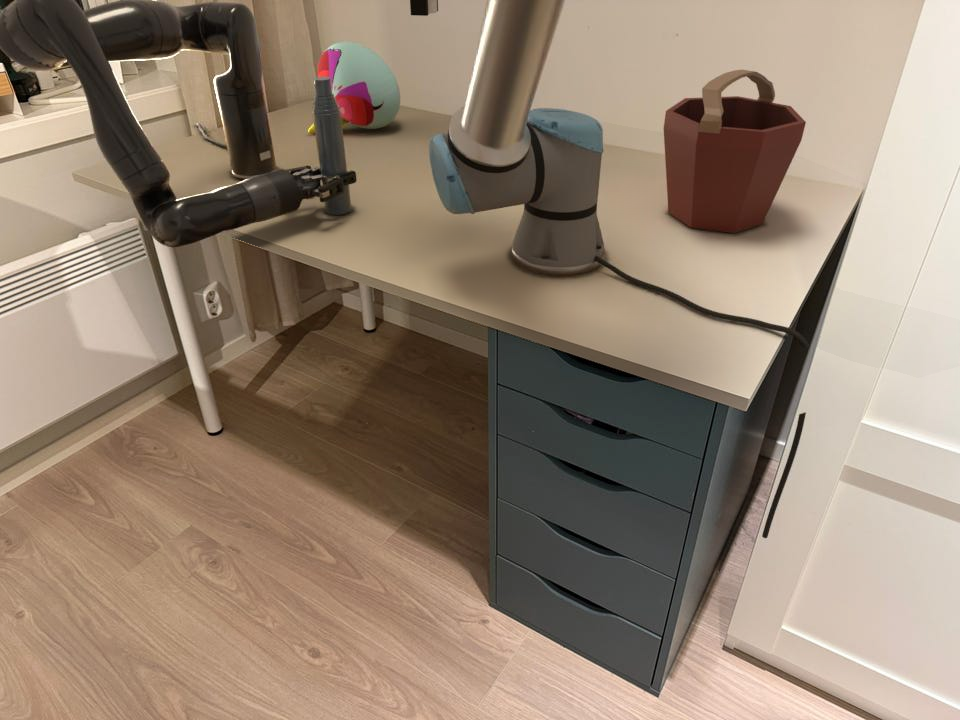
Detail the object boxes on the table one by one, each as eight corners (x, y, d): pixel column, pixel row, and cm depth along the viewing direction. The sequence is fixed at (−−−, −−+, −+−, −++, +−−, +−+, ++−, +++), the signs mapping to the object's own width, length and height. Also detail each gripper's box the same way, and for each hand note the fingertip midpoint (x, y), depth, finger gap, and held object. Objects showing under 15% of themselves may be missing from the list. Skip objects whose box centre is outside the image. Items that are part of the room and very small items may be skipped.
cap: (418, 14, 111) (417, -1, 110) (408, 11, 114) (407, -4, 113) (441, 12, 112) (440, -3, 111) (430, 9, 115) (430, -5, 114)
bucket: (710, 250, 119) (740, 96, 105) (622, 208, 134) (638, 69, 120) (804, 218, 129) (843, 75, 115) (713, 183, 145) (736, 53, 131)
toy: (277, 110, 181) (275, 51, 163) (352, 72, 191) (358, 13, 173) (336, 175, 178) (341, 122, 160) (410, 134, 188) (421, 79, 170)
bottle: (324, 207, 136) (306, 76, 123) (349, 204, 138) (334, 74, 124) (327, 216, 132) (309, 82, 119) (353, 213, 134) (338, 80, 120)
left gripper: (286, 185, 117) (367, 161, 127) (241, 166, 125) (321, 144, 135) (293, 228, 121) (371, 201, 131) (249, 206, 129) (326, 182, 139)
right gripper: (412, -164, 108) (421, 5, 121) (366, -172, 94) (382, 20, 107) (459, -166, 106) (463, 6, 119) (419, -174, 93) (428, 21, 106)
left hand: (345, 172), depth 133 cm, fingers closed on bottle, 5 cm apart
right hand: (424, 12), depth 113 cm, fingers closed on cap, 4 cm apart
